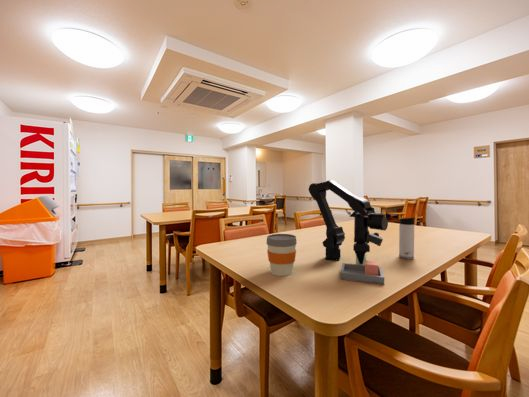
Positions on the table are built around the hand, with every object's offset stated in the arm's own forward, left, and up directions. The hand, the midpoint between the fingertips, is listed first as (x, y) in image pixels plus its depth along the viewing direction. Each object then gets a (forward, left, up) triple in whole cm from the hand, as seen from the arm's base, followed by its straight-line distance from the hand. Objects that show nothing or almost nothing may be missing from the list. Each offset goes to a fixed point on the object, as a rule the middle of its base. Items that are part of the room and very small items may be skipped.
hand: (361, 262), depth 105 cm
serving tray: (0, -13, -2) cm, 13 cm away
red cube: (+4, -13, -1) cm, 13 cm away
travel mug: (+21, +20, -2) cm, 29 cm away
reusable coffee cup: (-31, -19, -2) cm, 36 cm away
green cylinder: (0, 0, -2) cm, 2 cm away
